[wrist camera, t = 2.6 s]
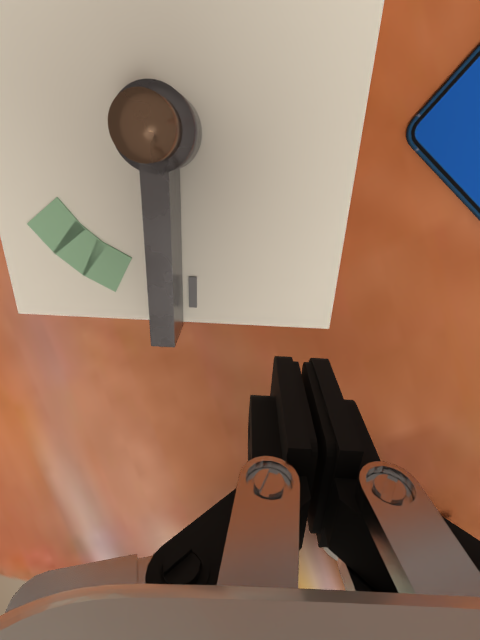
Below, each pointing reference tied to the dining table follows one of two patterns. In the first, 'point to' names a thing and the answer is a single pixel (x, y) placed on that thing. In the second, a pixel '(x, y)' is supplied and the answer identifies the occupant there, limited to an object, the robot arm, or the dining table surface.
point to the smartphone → (453, 133)
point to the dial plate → (207, 166)
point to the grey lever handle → (158, 188)
